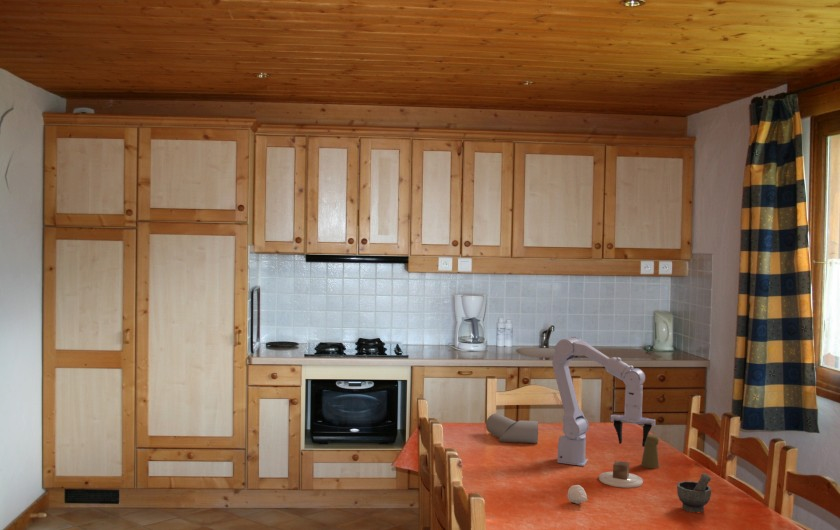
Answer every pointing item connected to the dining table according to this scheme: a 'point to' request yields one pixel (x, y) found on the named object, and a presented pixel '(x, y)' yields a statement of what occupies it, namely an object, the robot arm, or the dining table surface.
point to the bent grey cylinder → (512, 429)
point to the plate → (621, 480)
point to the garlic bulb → (577, 494)
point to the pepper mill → (650, 452)
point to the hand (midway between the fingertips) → (632, 444)
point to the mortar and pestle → (694, 494)
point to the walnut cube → (621, 470)
